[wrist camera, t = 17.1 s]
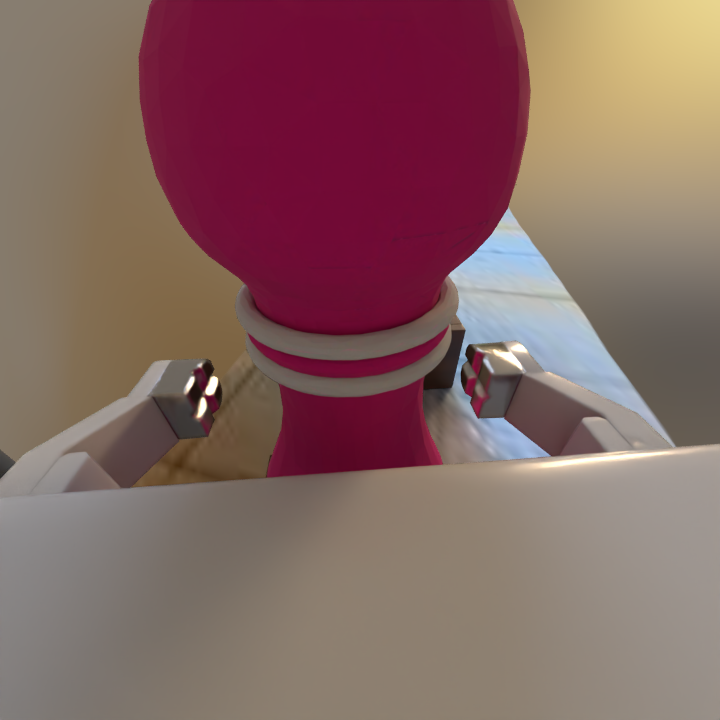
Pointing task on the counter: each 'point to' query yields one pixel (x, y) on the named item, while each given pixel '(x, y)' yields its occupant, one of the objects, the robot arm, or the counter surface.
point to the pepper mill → (339, 192)
